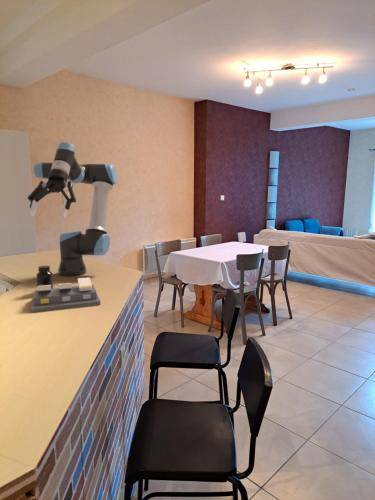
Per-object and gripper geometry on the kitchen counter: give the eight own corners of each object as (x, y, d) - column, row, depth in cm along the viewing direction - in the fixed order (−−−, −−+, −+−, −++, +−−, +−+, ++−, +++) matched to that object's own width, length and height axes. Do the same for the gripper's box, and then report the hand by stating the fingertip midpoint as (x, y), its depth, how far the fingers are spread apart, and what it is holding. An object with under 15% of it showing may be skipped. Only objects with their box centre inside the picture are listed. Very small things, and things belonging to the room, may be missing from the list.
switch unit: (32, 300, 148) (31, 287, 147) (95, 293, 158) (95, 282, 157) (31, 312, 134) (30, 298, 133) (100, 304, 143) (100, 291, 142)
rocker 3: (77, 281, 152) (77, 278, 151) (89, 280, 154) (89, 277, 153) (79, 291, 144) (79, 287, 144) (92, 290, 146) (92, 286, 146)
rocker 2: (58, 287, 149) (58, 283, 149) (70, 286, 151) (70, 282, 151) (58, 289, 141) (58, 284, 141) (71, 287, 143) (71, 283, 143)
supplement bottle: (36, 294, 156) (34, 268, 154) (38, 290, 163) (36, 265, 160) (52, 293, 158) (51, 267, 156) (54, 289, 164) (52, 264, 162)
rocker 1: (38, 289, 146) (37, 285, 146) (51, 288, 148) (50, 284, 148) (37, 291, 138) (37, 286, 138) (50, 289, 140) (50, 285, 140)
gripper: (28, 168, 149) (13, 210, 140) (83, 167, 146) (72, 210, 137) (36, 179, 156) (23, 219, 147) (90, 179, 153) (79, 220, 144)
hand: (47, 215), depth 142 cm, fingers open, 13 cm apart
